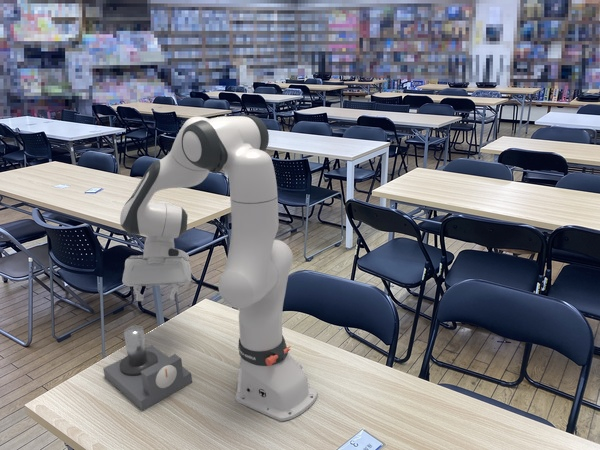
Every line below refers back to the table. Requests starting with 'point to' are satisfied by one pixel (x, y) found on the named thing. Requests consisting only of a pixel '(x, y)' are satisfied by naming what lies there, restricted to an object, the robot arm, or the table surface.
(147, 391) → the scale
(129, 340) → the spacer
